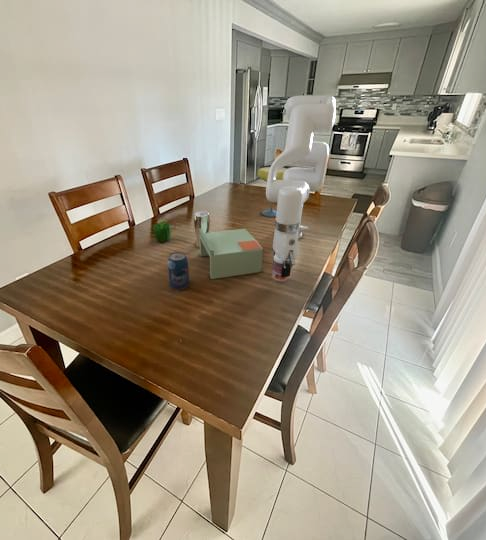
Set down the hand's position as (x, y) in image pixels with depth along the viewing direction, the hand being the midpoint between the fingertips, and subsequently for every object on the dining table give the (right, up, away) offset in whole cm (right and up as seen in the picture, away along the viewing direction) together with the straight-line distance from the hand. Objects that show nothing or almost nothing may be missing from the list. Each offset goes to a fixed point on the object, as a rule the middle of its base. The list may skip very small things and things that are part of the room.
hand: (281, 271), depth 106 cm
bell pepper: (-49, +14, +33) cm, 60 cm away
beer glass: (-30, +12, +28) cm, 42 cm away
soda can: (-37, -5, 0) cm, 37 cm away
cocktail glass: (+8, +33, +63) cm, 71 cm away
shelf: (-18, +3, +14) cm, 23 cm away
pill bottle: (0, -2, +2) cm, 3 cm away
